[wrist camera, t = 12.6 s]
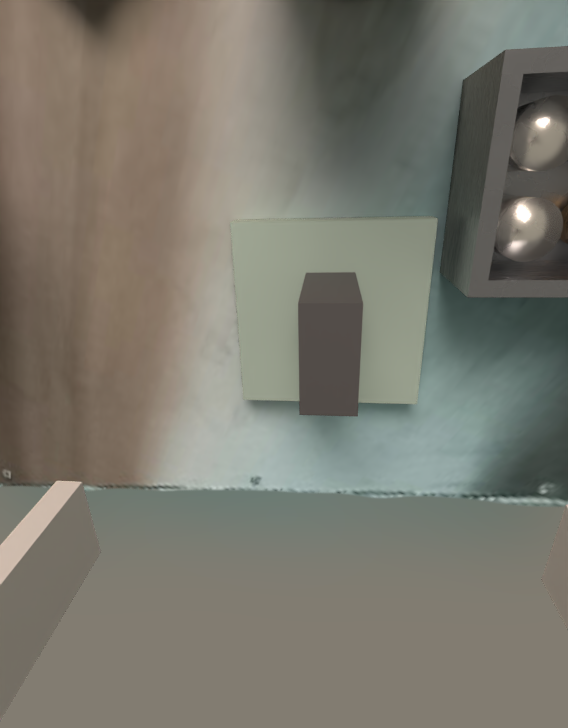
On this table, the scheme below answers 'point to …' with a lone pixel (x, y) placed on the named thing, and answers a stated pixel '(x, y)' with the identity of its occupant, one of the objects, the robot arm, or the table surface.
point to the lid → (332, 309)
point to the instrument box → (511, 179)
